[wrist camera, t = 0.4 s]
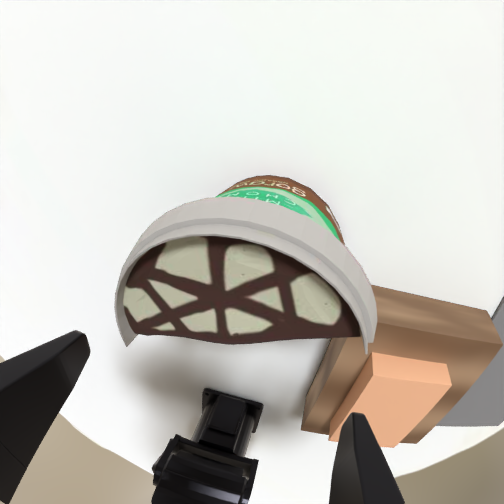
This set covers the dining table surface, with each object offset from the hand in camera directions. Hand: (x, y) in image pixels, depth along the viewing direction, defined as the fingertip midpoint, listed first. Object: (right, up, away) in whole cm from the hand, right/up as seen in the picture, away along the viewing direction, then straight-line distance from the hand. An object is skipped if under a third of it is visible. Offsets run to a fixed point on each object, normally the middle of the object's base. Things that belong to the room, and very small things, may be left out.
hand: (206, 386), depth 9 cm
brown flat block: (+13, -5, +15) cm, 21 cm away
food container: (+2, +7, +11) cm, 13 cm away
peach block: (+11, -7, +11) cm, 18 cm away
